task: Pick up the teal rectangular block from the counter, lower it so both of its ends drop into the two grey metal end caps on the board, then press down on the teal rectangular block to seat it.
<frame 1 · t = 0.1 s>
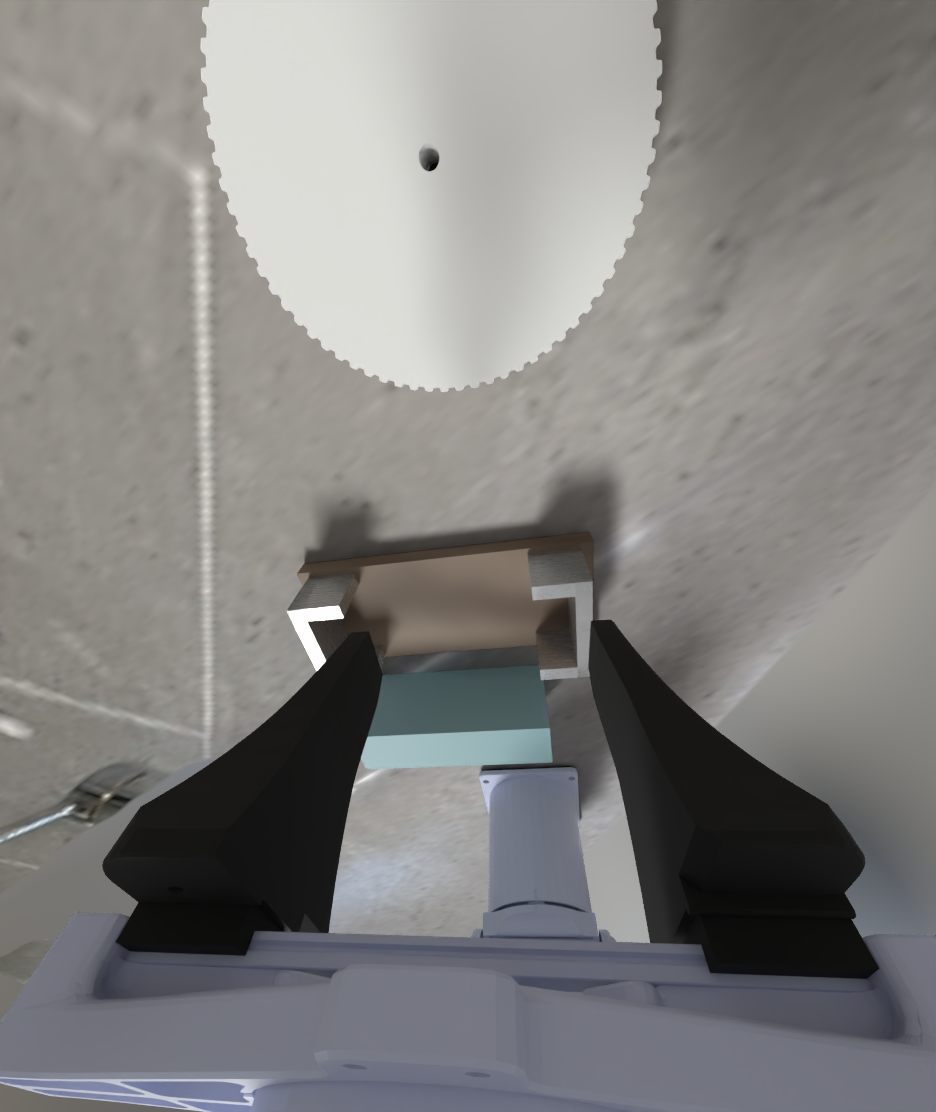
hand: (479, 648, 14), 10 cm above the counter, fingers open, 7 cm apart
plastic lid: (438, 177, 15), on the counter
teal rectangular block: (458, 685, 30), on the counter
end caps: (451, 597, 25), resting on end cap board
end cap board: (451, 597, 25), on the counter
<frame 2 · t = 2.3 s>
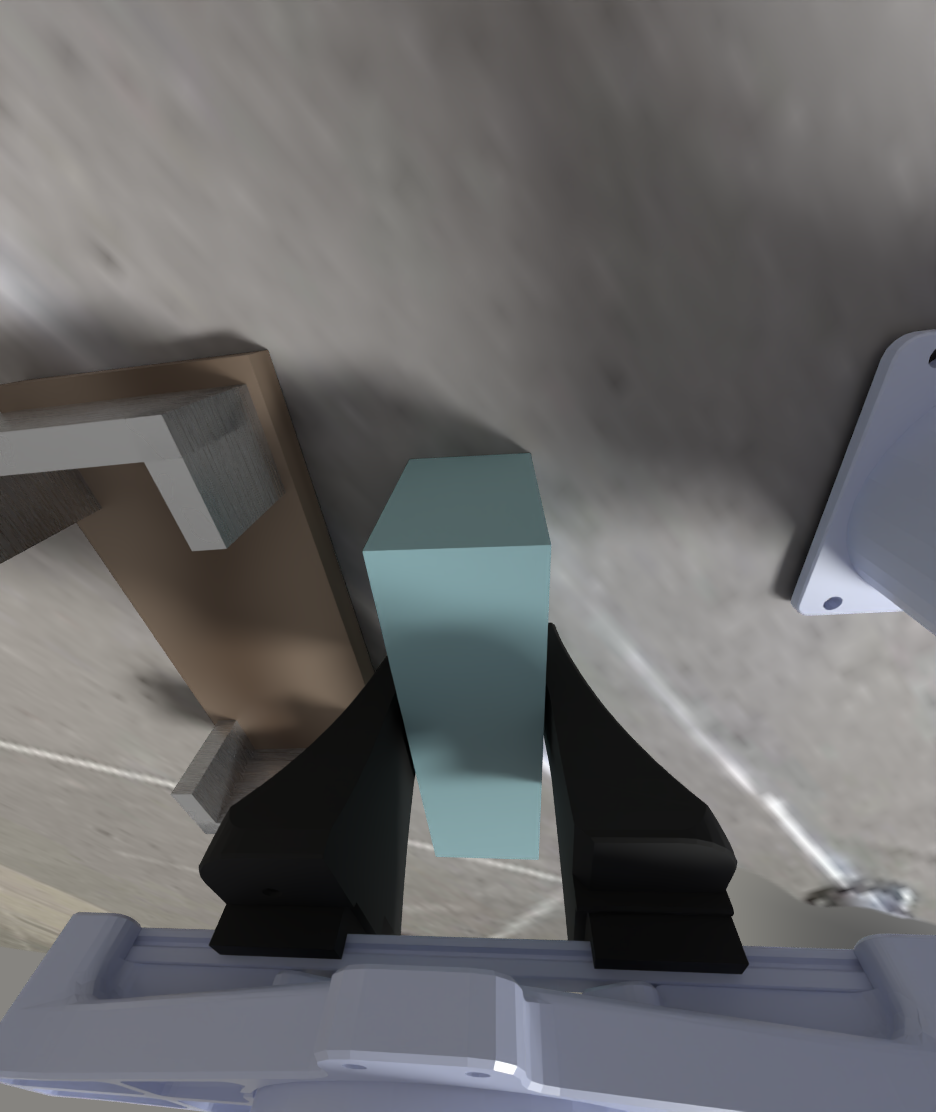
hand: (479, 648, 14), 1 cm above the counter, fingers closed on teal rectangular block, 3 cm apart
teal rectangular block: (480, 619, 15), on the counter, touching gripper
end caps: (259, 610, 15), resting on end cap board
end cap board: (259, 610, 15), on the counter
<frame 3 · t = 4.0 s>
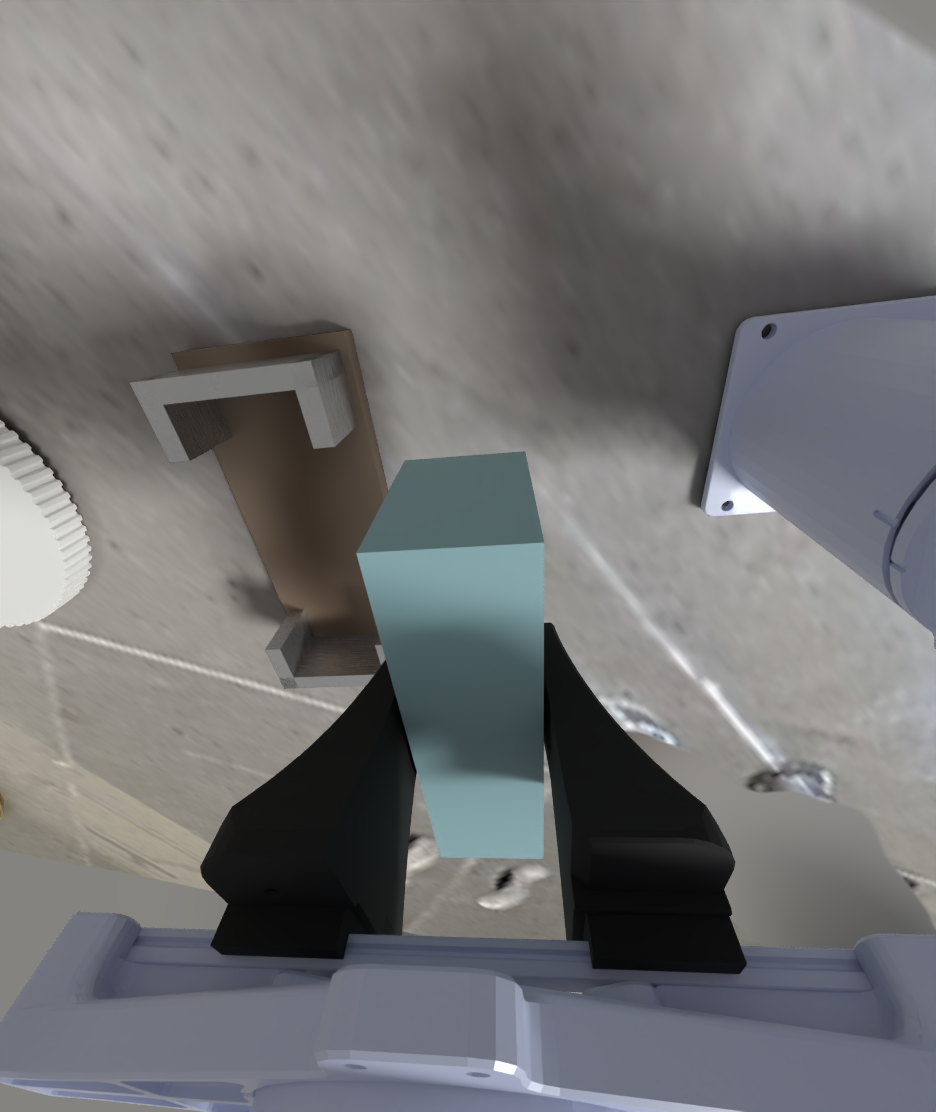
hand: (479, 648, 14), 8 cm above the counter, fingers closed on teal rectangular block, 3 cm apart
teal rectangular block: (480, 619, 15), point 7 cm above the counter, touching gripper
end caps: (326, 521, 21), resting on end cap board
end cap board: (326, 521, 21), on the counter
when the fingers open (4 cm above the counter, at t = 6.1 s): teal rectangular block drops 1 cm, resting on end cap board.
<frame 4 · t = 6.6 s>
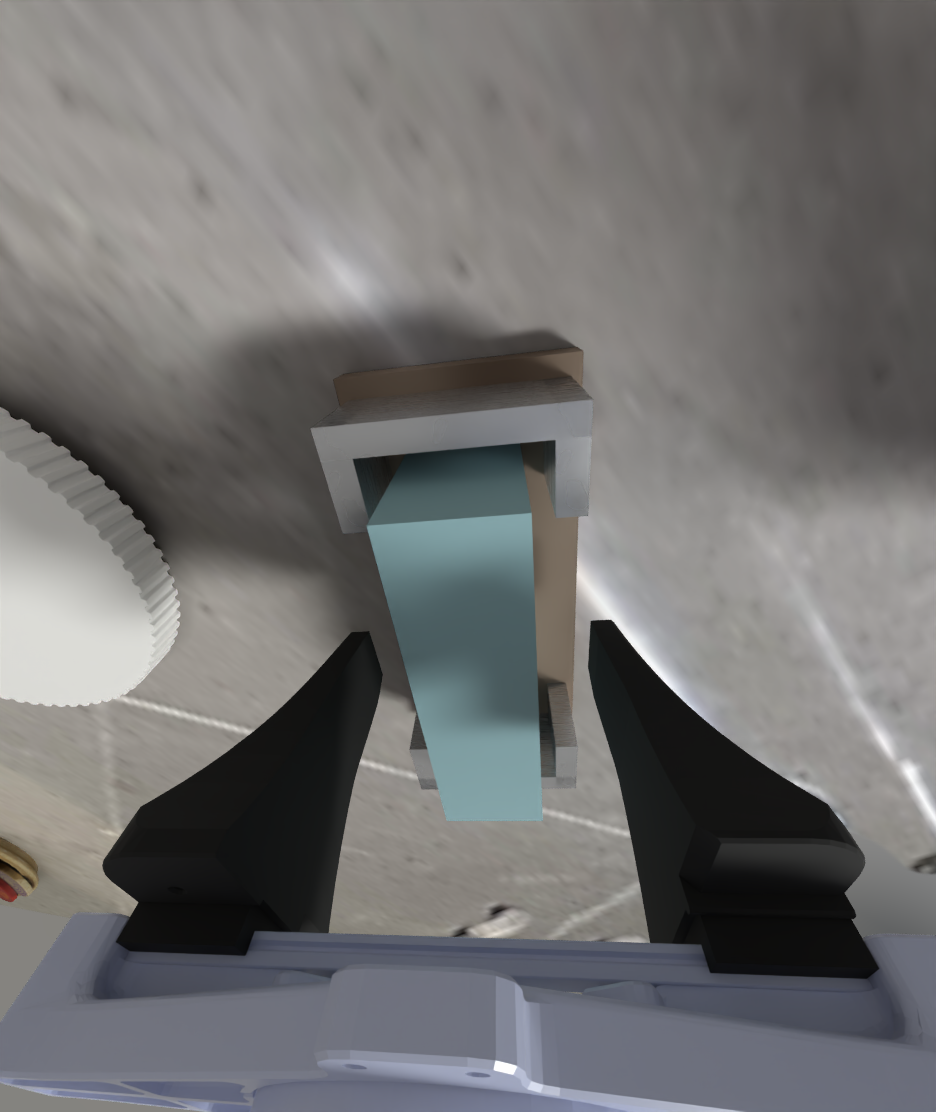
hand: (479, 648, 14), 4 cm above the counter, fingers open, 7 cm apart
plastic lid: (26, 543, 18), on the counter
teal rectangular block: (481, 599, 16), point 1 cm above the counter, touching end cap board
end caps: (482, 584, 17), resting on end cap board
end cap board: (482, 584, 17), on the counter
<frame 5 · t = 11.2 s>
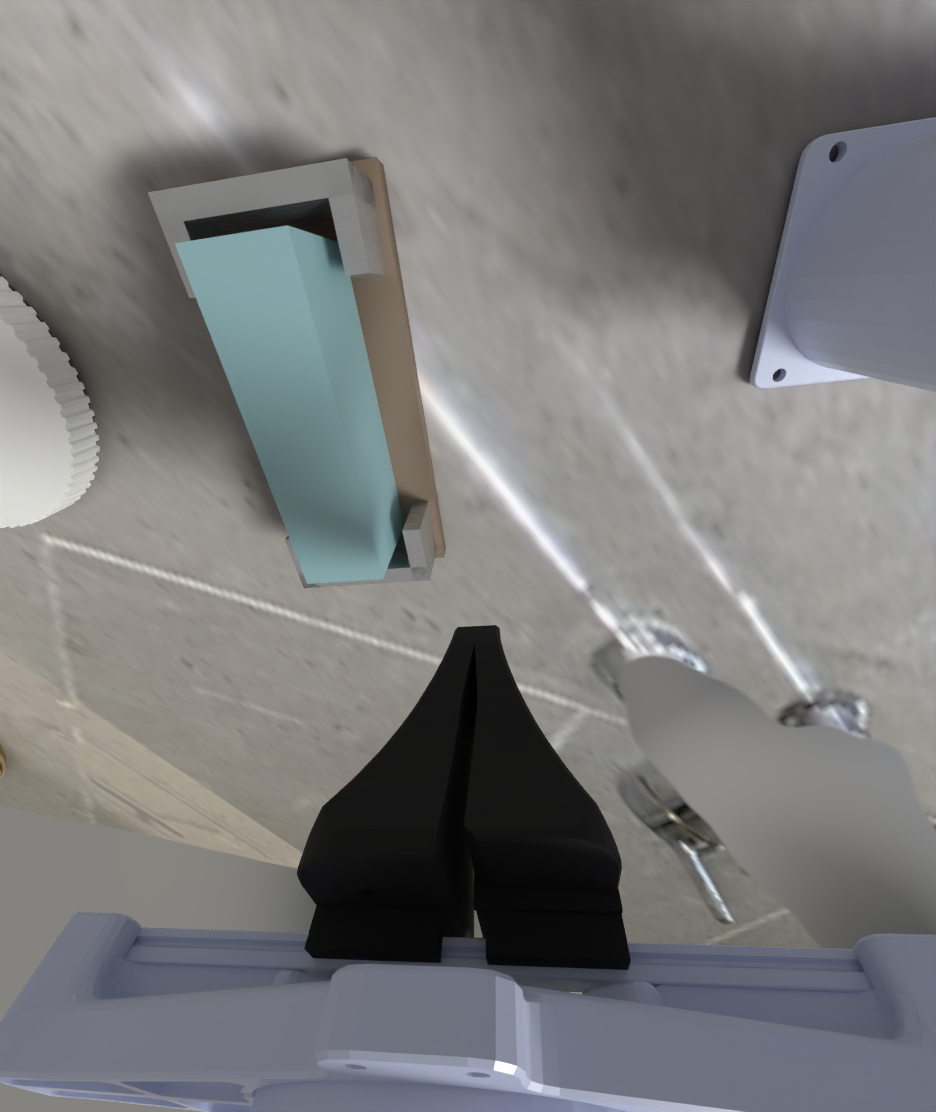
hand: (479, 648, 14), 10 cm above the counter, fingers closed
teal rectangular block: (342, 411, 19), point 1 cm above the counter, touching end cap board
end caps: (349, 406, 20), resting on end cap board
end cap board: (349, 406, 20), on the counter
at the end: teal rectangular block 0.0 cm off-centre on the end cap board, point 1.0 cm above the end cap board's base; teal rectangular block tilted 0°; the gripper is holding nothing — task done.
